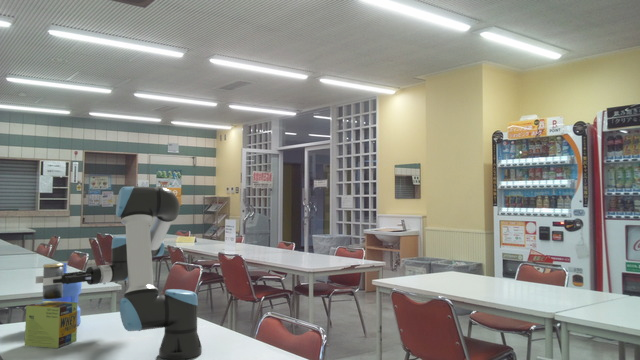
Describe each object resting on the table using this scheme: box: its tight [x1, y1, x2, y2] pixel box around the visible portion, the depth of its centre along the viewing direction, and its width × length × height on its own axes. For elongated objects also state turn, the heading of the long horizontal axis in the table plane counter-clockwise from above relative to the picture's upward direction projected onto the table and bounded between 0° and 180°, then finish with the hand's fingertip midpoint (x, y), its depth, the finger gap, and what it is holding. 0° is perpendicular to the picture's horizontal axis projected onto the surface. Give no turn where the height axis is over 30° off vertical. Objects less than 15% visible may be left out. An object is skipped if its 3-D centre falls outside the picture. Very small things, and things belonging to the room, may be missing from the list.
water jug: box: [42, 262, 83, 327], centre depth 223 cm, size 16×16×28 cm
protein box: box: [24, 301, 79, 349], centre depth 195 cm, size 10×15×16 cm
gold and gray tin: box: [42, 262, 64, 300], centre depth 196 cm, size 7×7×13 cm
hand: (39, 280), depth 193 cm, fingers closed on gold and gray tin, 7 cm apart
